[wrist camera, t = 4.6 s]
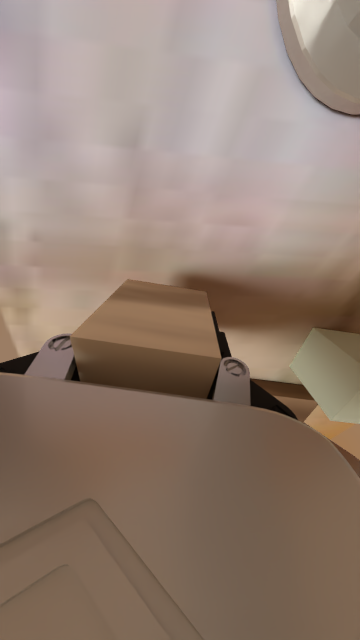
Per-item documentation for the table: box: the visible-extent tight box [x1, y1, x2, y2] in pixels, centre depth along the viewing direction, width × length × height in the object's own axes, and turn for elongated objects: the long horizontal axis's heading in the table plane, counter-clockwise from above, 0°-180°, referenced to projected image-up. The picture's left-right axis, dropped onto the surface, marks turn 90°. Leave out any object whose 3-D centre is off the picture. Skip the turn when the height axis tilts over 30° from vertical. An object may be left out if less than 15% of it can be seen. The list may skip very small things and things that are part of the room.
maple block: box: [70, 279, 221, 399], centre depth 9 cm, size 5×5×6 cm
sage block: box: [290, 327, 360, 424], centre depth 15 cm, size 5×5×6 cm
